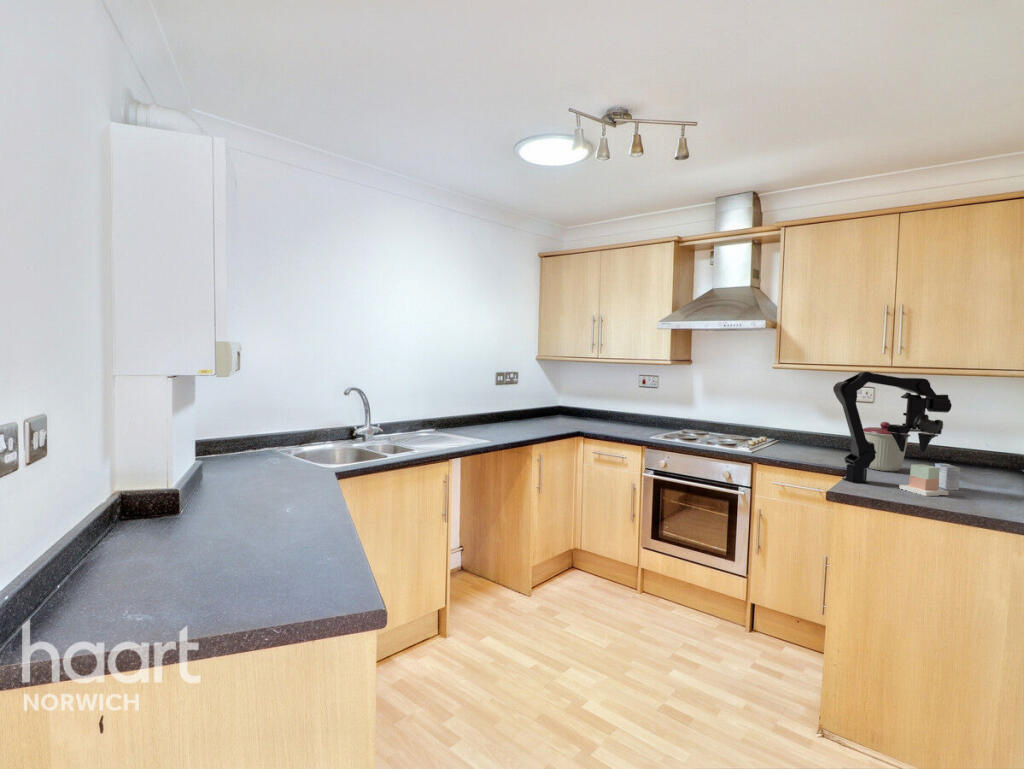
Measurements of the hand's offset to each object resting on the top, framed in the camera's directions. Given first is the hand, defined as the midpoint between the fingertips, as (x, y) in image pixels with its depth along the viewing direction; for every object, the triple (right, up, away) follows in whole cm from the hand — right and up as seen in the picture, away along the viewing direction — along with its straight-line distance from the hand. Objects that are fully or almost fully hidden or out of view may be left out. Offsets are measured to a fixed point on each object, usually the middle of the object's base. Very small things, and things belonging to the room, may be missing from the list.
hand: (912, 451), depth 200 cm
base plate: (-4, -13, -10) cm, 17 cm away
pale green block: (-3, -8, -10) cm, 13 cm away
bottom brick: (-3, -12, -10) cm, 16 cm away
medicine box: (+12, -14, -1) cm, 18 cm away
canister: (+10, -12, +31) cm, 35 cm away
